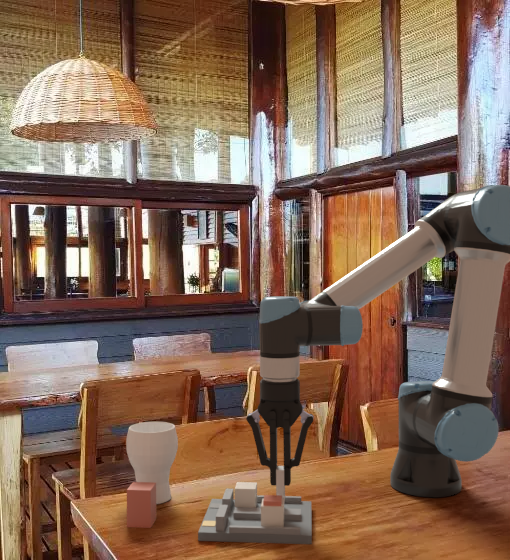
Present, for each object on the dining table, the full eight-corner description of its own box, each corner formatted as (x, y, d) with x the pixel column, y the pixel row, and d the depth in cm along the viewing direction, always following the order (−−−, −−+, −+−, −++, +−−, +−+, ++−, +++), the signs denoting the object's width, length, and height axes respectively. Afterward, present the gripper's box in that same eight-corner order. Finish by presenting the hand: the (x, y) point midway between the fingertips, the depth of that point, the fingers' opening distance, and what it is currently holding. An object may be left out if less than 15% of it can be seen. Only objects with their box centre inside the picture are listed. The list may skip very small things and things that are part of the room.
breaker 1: (257, 502, 134) (257, 482, 134) (255, 509, 130) (255, 489, 130) (236, 501, 134) (236, 481, 134) (234, 509, 130) (234, 488, 130)
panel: (311, 508, 135) (311, 488, 135) (311, 544, 118) (311, 521, 118) (211, 506, 137) (211, 486, 137) (198, 540, 120) (198, 518, 120)
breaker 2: (284, 520, 125) (284, 494, 124) (283, 529, 121) (283, 502, 120) (262, 520, 125) (262, 494, 125) (260, 528, 121) (260, 501, 121)
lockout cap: (156, 518, 130) (156, 482, 130) (150, 527, 126) (150, 490, 126) (133, 517, 131) (133, 482, 130) (127, 527, 126) (126, 489, 126)
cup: (168, 509, 135) (168, 434, 135) (118, 505, 137) (117, 432, 137) (184, 491, 145) (184, 422, 145) (137, 488, 148) (137, 419, 147)
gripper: (314, 375, 131) (315, 496, 132) (247, 374, 132) (248, 494, 133) (314, 382, 124) (314, 510, 124) (243, 381, 125) (244, 508, 126)
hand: (280, 501), depth 129 cm, fingers closed
